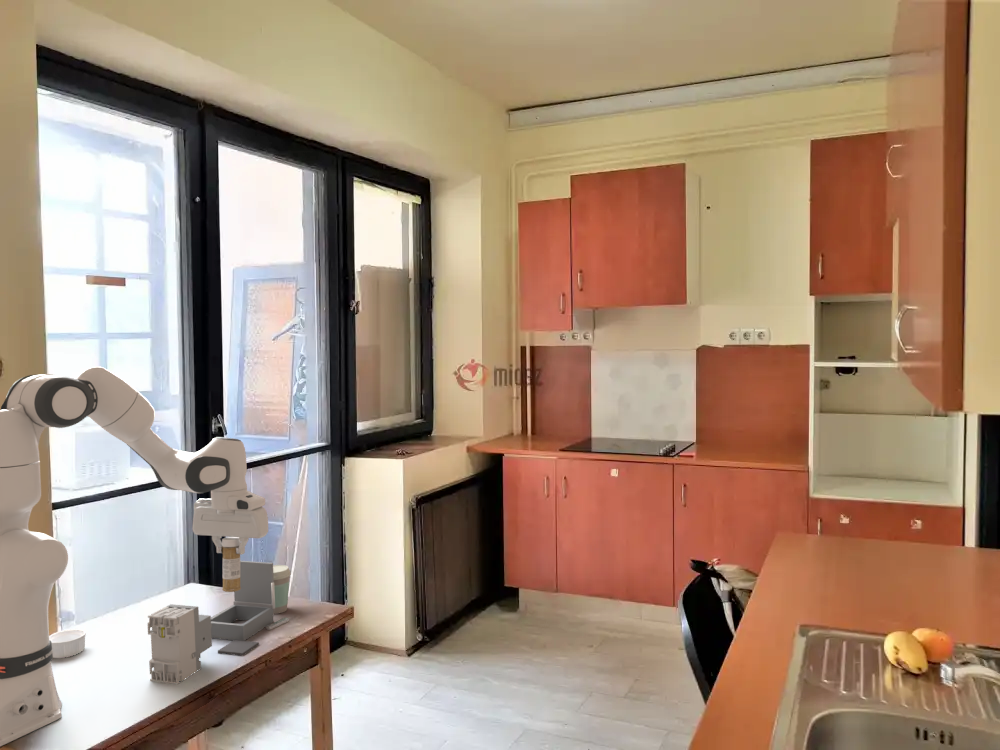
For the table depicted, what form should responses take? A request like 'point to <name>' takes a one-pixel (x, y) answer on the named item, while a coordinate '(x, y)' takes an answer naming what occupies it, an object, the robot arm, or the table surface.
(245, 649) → the pad
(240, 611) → the case
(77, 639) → the ramekin
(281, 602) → the coffee cup
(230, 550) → the sprinkles bottle
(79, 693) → the table surface
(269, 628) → the rod
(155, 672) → the circuit breaker
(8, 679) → the robot arm
